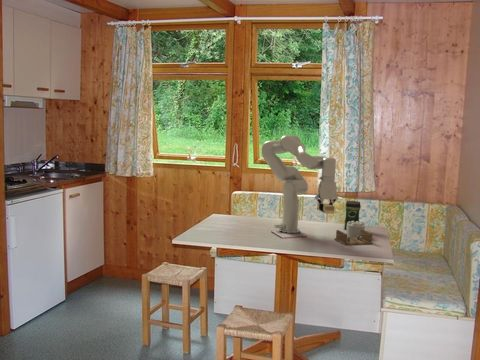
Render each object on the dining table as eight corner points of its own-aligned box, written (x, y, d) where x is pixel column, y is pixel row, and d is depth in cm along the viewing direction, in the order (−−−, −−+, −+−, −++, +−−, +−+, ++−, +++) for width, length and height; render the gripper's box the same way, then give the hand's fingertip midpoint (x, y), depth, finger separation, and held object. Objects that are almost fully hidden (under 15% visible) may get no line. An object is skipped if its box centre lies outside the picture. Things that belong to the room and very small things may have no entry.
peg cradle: (344, 245, 277) (345, 234, 276) (334, 239, 288) (335, 229, 288) (372, 244, 283) (373, 233, 282) (361, 239, 294) (362, 229, 293)
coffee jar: (359, 229, 321) (361, 200, 319) (358, 231, 314) (360, 202, 311) (344, 227, 324) (346, 199, 322) (343, 230, 316) (345, 201, 314)
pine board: (334, 213, 282) (334, 206, 281) (326, 213, 280) (326, 206, 280) (324, 209, 293) (325, 202, 292) (317, 209, 292) (317, 202, 291)
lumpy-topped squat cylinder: (347, 237, 297) (348, 223, 295) (344, 232, 309) (345, 218, 308) (365, 238, 296) (366, 224, 295) (361, 233, 309) (362, 220, 307)
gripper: (317, 180, 278) (315, 211, 280) (344, 180, 283) (341, 211, 286) (311, 178, 285) (309, 209, 287) (337, 178, 290) (335, 209, 293)
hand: (325, 210), depth 286 cm, fingers closed on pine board, 5 cm apart
